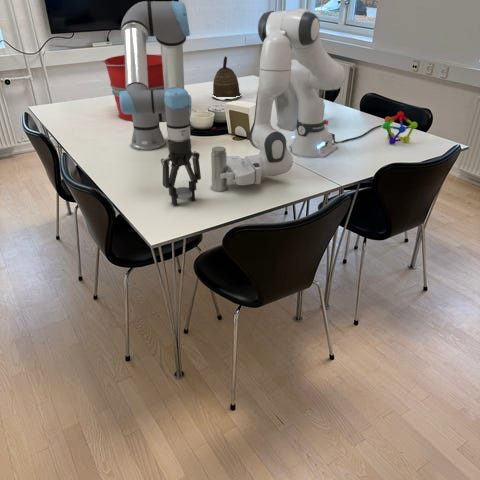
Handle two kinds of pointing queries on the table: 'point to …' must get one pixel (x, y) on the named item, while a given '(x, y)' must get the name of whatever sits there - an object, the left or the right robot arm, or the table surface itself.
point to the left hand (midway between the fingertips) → (183, 201)
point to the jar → (218, 168)
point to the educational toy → (398, 128)
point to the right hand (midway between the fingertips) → (216, 172)
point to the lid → (183, 192)
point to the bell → (225, 82)
